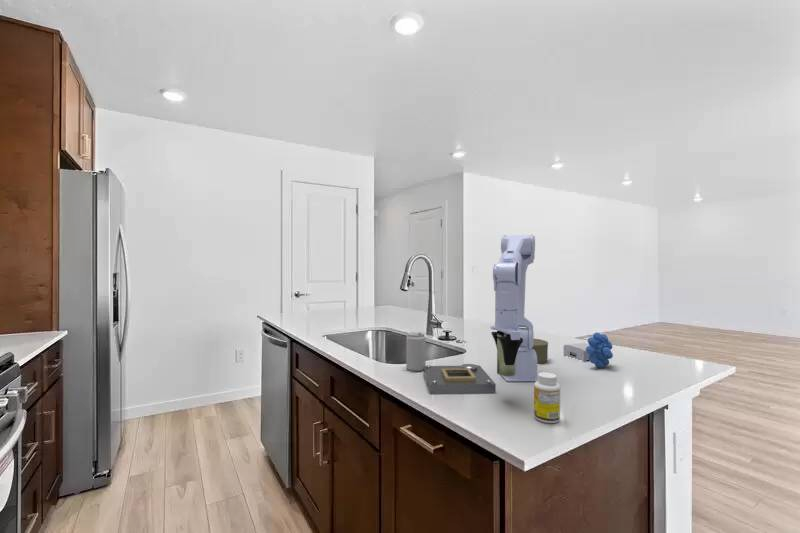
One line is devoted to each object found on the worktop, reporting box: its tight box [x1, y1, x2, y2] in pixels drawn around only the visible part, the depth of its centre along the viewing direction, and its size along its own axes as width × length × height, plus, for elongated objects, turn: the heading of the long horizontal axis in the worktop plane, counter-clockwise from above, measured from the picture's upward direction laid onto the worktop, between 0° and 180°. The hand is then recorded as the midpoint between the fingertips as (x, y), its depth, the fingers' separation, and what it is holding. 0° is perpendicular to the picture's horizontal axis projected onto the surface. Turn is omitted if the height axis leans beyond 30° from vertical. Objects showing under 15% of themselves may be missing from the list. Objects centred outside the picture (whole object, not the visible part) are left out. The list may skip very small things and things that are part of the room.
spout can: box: [496, 334, 516, 377], centre depth 99 cm, size 5×5×10 cm
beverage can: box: [405, 331, 427, 372], centre depth 127 cm, size 6×6×12 cm
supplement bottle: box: [533, 371, 561, 424], centre depth 88 cm, size 6×6×10 cm
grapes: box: [586, 332, 614, 369], centre depth 128 cm, size 12×7×12 cm, turn 114°
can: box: [531, 338, 549, 365], centre depth 138 cm, size 12×12×7 cm
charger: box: [563, 342, 590, 362], centre depth 143 cm, size 5×9×15 cm
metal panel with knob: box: [422, 363, 497, 395], centre depth 113 cm, size 18×18×4 cm
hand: (506, 362), depth 99 cm, fingers closed on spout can, 5 cm apart
